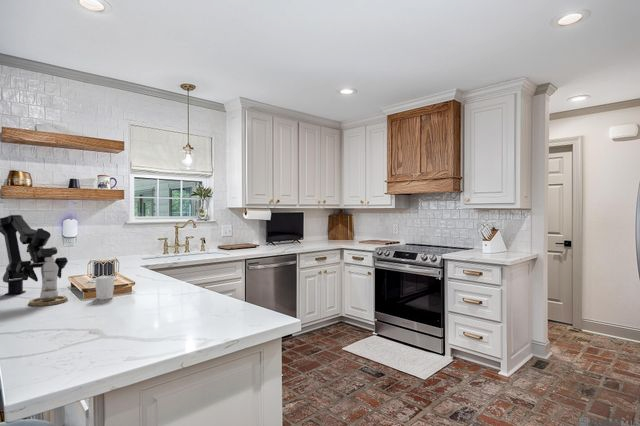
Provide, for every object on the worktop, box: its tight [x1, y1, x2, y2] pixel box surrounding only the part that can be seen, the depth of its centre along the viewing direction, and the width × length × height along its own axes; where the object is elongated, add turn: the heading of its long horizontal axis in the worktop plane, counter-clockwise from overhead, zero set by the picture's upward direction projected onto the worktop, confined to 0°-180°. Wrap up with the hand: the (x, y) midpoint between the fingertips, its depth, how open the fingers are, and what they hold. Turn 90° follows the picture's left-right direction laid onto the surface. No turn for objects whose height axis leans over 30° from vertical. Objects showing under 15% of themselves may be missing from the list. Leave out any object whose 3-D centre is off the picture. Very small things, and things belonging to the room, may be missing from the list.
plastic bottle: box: [39, 256, 59, 301], centre depth 166 cm, size 6×7×20 cm
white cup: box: [94, 275, 115, 301], centre depth 175 cm, size 8×8×10 cm
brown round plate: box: [27, 295, 69, 307], centre depth 166 cm, size 14×14×1 cm
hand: (49, 279), depth 166 cm, fingers open, 9 cm apart
